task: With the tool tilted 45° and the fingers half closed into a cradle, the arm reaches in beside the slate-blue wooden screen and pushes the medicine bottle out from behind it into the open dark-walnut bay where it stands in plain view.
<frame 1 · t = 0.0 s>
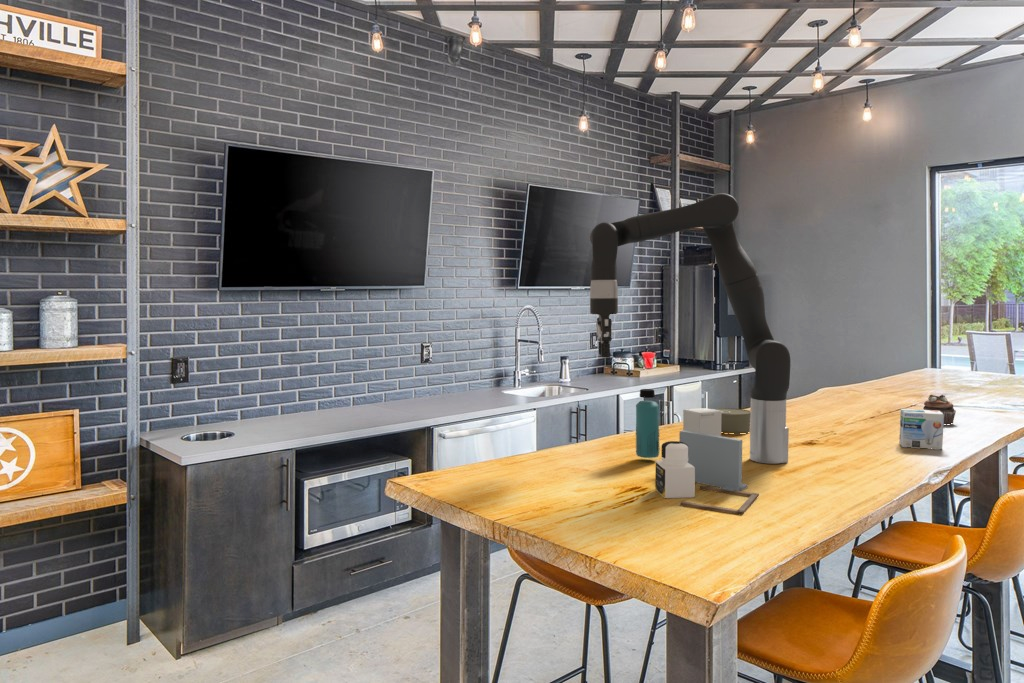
hand: (604, 355, 188), 29 cm above the table, tool pointing down, fingers open, 8 cm apart
beverage bottle: (647, 461, 190), on the table
bay: (717, 500, 152), on the table
cupcake: (939, 423, 240), on the table
can: (731, 432, 229), on the table
screen: (709, 484, 165), on the table
medicine bottle: (674, 494, 158), on the table
skincare box: (701, 468, 181), on the table
light bulb box: (920, 447, 204), on the table
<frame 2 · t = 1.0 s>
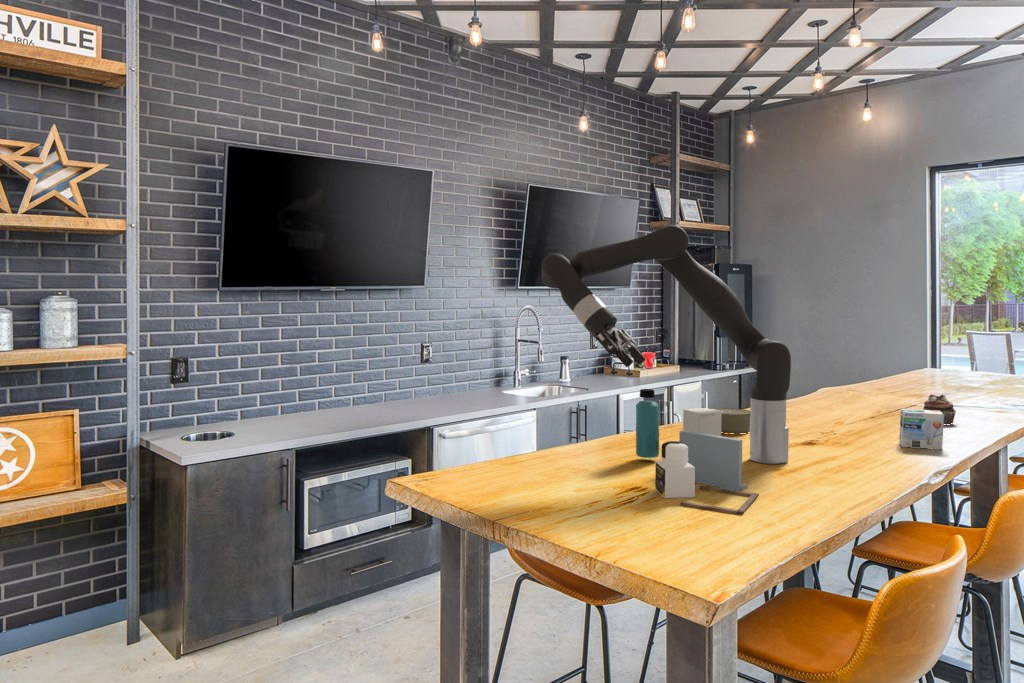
hand: (636, 363, 169), 29 cm above the table, tool tilted 45°, fingers open, 7 cm apart
nothing on the table moved.
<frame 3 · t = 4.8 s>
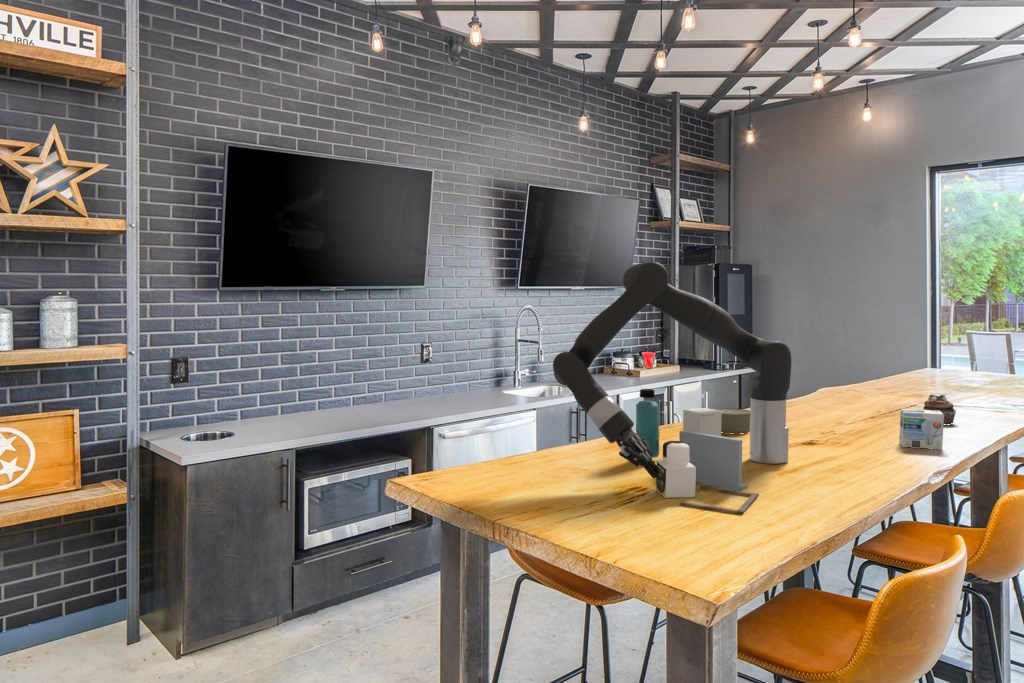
hand: (658, 475, 160), 4 cm above the table, tool tilted 45°, fingers closed
medicine bottle: (675, 494, 158), on the table, touching gripper
everything else where it was.
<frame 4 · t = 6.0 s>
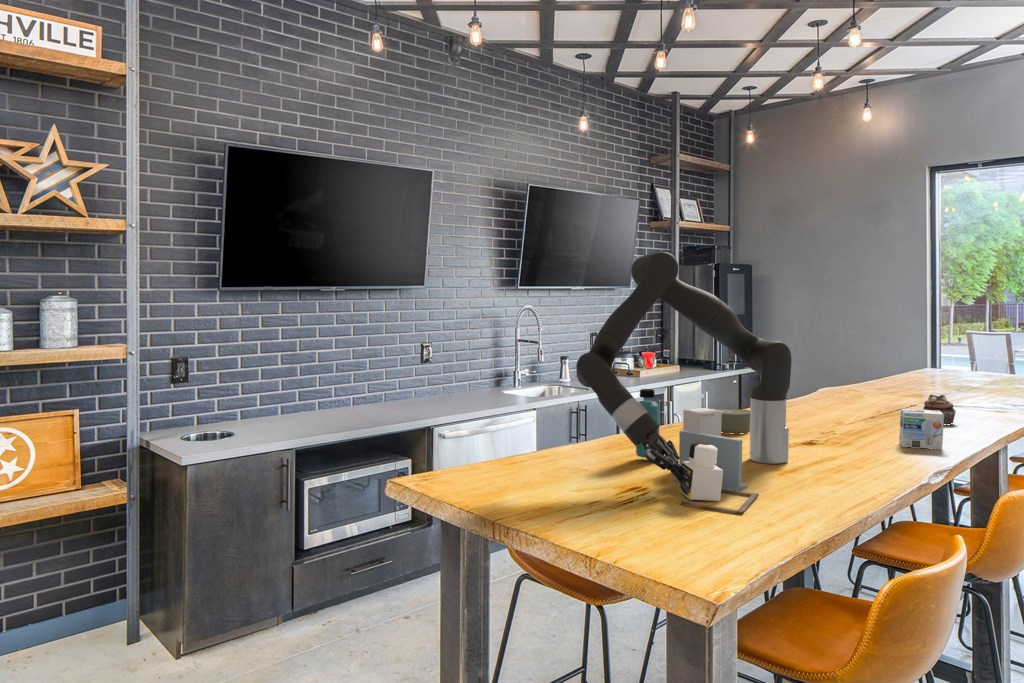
hand: (685, 479, 156), 4 cm above the table, tool tilted 45°, fingers closed
medicine bottle: (699, 497, 155), on the table
everything else where it was.
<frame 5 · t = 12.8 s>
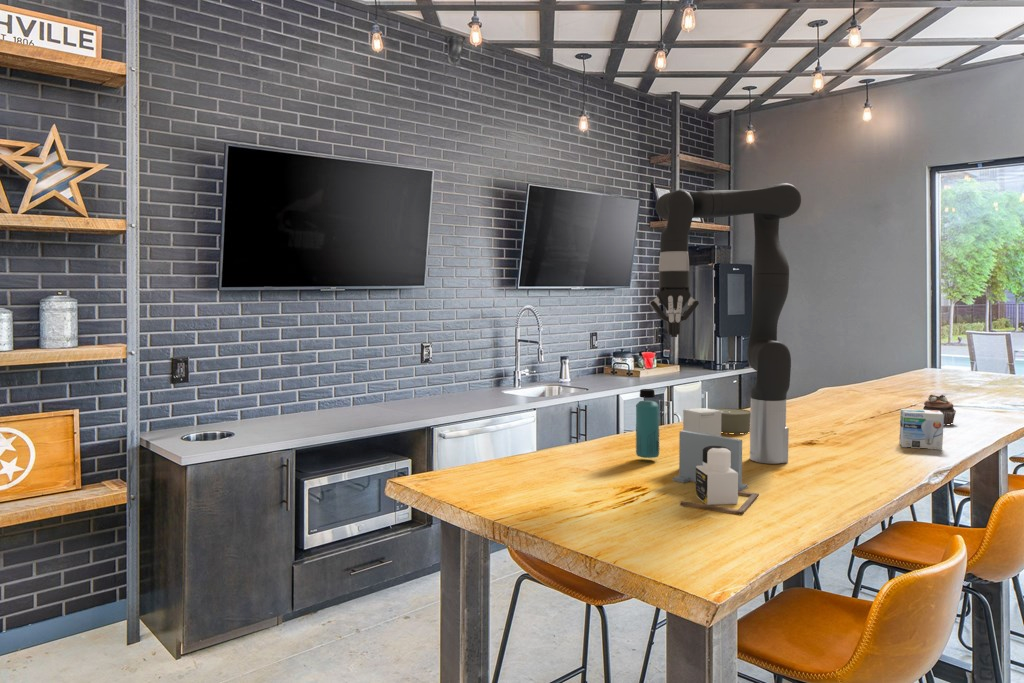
hand: (673, 336, 177), 35 cm above the table, tool pointing down, fingers closed
medicine bottle: (716, 501, 153), on the table
everything else where it was.
at the end: medicine bottle 0.3 cm from the bay (horizontally); medicine bottle tilted 0°; medicine bottle moved 9.6 cm from its start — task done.
